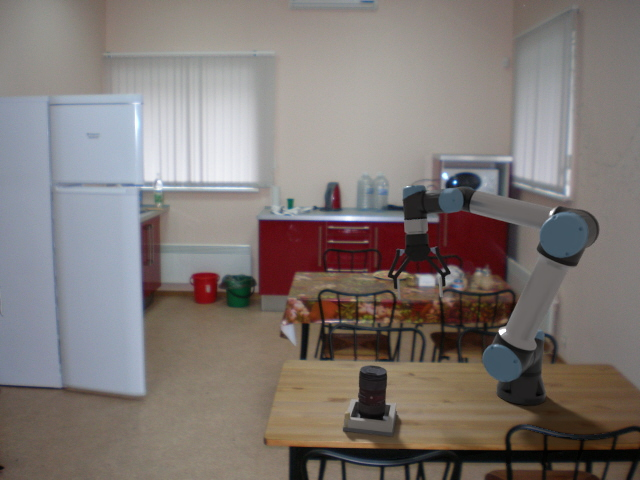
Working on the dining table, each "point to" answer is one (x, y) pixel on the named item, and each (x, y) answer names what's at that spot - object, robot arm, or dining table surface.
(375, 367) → the camera lens
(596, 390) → the dining table surface
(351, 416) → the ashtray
